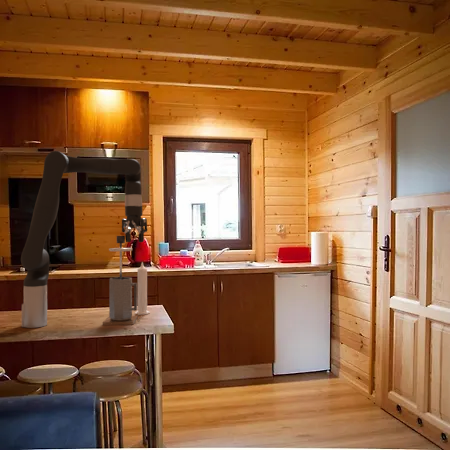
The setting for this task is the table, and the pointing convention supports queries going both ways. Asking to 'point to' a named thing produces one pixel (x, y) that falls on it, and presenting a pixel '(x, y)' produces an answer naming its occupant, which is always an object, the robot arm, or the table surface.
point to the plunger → (120, 240)
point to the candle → (142, 291)
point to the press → (121, 302)
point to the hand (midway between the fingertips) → (134, 242)
